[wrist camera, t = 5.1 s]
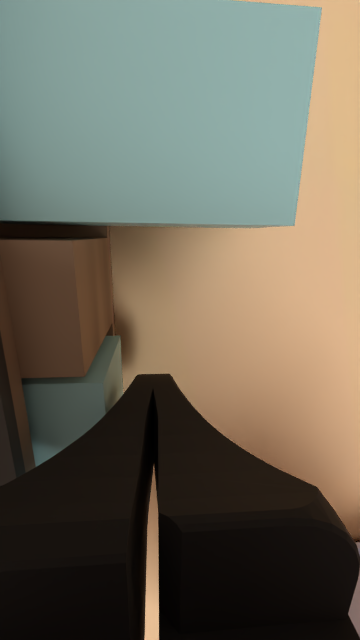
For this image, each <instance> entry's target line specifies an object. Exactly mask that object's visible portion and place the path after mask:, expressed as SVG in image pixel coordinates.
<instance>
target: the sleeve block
mask: <svg viewBox="0 0 360 640" xmlns="http://www.w3.org/2000/svg"><path fill="white" fill-rule="evenodd" d="M105 336H115V324H114V306H113V288H112V270H111V252H110V234H109V226H87V225H29V224H2V223H0V486H2V485H4V484H6V483H8V482H10V481H12V480H14V479H15V478H17V477H19V476H21V475H23V474H24V473H26V472H28V471H30V470H31V469H33V468H35V467H36V466H35V460H34V454H33V448H32V442H31V436H30V430H29V424H28V418H27V412H26V406H25V399H24V393H23V387H22V381H21V378H51V377H85V375H86V373H87V371H88V369H89V367H90V365H91V364H92V362H93V360H94V358H95V356H96V354H97V352H98V350H99V348H100V346H101V344H102V342H103V340H104V338H105Z"/></svg>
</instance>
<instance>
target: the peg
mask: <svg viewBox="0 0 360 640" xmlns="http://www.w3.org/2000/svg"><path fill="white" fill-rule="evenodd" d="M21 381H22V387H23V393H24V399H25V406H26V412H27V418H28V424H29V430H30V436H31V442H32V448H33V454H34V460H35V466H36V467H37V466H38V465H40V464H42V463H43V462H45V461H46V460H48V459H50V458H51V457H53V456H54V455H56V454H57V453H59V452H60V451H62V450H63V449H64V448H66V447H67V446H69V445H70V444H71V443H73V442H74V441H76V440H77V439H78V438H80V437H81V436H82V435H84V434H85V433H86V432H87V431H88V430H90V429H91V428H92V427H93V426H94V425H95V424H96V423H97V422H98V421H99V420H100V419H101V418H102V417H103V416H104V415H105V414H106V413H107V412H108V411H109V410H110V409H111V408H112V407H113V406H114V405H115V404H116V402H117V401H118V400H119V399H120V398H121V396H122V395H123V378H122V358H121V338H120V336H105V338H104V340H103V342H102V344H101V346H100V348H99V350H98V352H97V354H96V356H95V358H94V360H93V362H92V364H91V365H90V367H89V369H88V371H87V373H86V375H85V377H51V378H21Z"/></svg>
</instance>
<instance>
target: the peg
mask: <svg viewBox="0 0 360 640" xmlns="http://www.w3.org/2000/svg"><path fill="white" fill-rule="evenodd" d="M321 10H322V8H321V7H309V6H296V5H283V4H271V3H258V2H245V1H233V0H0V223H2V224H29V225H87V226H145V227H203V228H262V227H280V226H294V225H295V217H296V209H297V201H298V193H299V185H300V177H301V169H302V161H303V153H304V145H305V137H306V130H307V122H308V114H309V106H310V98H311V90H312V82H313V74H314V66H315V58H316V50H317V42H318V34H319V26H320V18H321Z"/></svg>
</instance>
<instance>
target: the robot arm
mask: <svg viewBox="0 0 360 640" xmlns="http://www.w3.org/2000/svg"><path fill="white" fill-rule="evenodd" d="M153 466H154V467H155V479H156V490H157V501H158V524H159V640H360V542H354V540H353V539H352V537H351V535H350V534H349V532H348V531H347V529H346V528H345V526H344V524H343V523H342V521H341V520H340V518H339V517H338V515H337V514H336V512H335V511H334V509H333V508H332V506H331V505H330V504H329V502H328V501H327V500H326V499H325V497H324V496H323V495H322V493H321V492H320V490H319V489H318V488H317V487H316V486H313V485H311V484H309V483H307V482H305V481H302V480H300V479H298V478H296V477H294V476H292V475H289V474H287V473H285V472H283V471H281V470H279V469H277V468H275V467H273V466H271V465H269V464H267V463H266V462H264V461H262V460H260V459H258V458H257V457H255V456H253V455H252V454H250V453H248V452H247V451H245V450H244V449H242V448H241V447H239V446H238V445H236V444H235V443H233V442H232V441H230V440H229V439H228V438H226V437H225V436H224V435H222V434H221V433H220V432H219V431H217V430H216V429H215V428H214V427H213V426H212V425H210V424H209V423H208V422H207V421H206V420H205V419H204V418H203V417H202V416H201V415H200V414H199V413H198V412H197V410H196V409H195V408H194V407H193V406H192V405H191V404H190V402H189V401H188V400H187V398H186V397H185V396H184V395H183V393H182V392H181V390H180V389H179V387H178V386H177V384H176V383H175V381H174V379H173V377H172V376H171V375H170V374H142V375H137V376H136V377H135V379H134V380H133V382H132V383H131V385H130V386H129V387H128V389H127V390H126V391H125V393H124V394H123V395H122V396H121V398H120V399H119V400H118V401H117V402H116V404H115V405H114V406H113V407H112V408H111V409H110V410H109V411H108V412H107V413H106V414H105V415H104V416H103V417H102V418H101V419H100V420H99V421H98V422H97V423H96V424H95V425H94V426H93V427H92V428H91V429H90V430H88V431H87V432H86V433H85V434H84V435H82V436H81V437H80V438H78V439H77V440H76V441H74V442H73V443H71V444H70V445H69V446H67V447H66V448H64V449H63V450H62V451H60V452H59V453H57V454H56V455H54V456H53V457H51V458H50V459H48V460H46V461H45V462H43V463H42V464H40V465H38V466H37V467H35V468H33V469H31V470H30V471H28V472H26V473H24V474H23V475H21V476H19V477H17V478H15V479H14V480H12V481H10V482H8V483H6V484H4V485H2V486H0V640H144V635H145V594H146V555H147V524H148V510H149V501H150V492H151V484H152V475H153Z"/></svg>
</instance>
